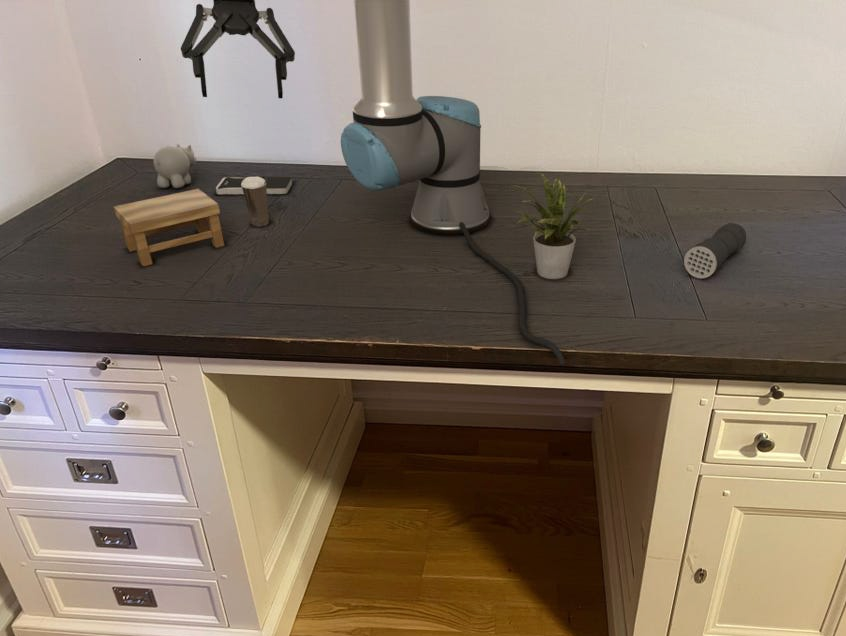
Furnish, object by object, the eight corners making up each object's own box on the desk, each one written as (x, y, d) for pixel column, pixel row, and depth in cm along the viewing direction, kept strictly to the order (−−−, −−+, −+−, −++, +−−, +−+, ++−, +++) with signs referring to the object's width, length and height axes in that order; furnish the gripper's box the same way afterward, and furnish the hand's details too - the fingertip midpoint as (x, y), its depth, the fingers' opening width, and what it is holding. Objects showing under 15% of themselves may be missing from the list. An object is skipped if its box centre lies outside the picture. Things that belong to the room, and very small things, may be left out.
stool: (226, 245, 131) (218, 204, 126) (142, 267, 123) (129, 223, 118) (207, 229, 137) (198, 188, 133) (125, 248, 129) (113, 206, 125)
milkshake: (270, 229, 137) (261, 178, 132) (244, 227, 138) (234, 176, 133) (280, 220, 141) (272, 170, 135) (255, 218, 142) (246, 168, 136)
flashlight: (717, 244, 131) (722, 216, 129) (745, 252, 129) (752, 223, 126) (681, 273, 121) (686, 243, 118) (712, 282, 118) (718, 252, 116)
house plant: (493, 259, 126) (494, 167, 117) (564, 247, 130) (570, 158, 121) (526, 294, 115) (529, 196, 106) (602, 280, 119) (612, 185, 110)
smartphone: (286, 188, 153) (214, 188, 152) (286, 194, 153) (215, 195, 153) (292, 176, 159) (223, 177, 158) (292, 182, 160) (224, 183, 159)
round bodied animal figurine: (212, 174, 164) (204, 137, 159) (181, 192, 154) (172, 152, 150) (184, 172, 166) (176, 134, 161) (152, 189, 156) (142, 150, 151)
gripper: (299, -1, 142) (309, 104, 141) (164, -9, 135) (173, 101, 134) (301, -23, 135) (312, 87, 134) (158, -33, 127) (168, 84, 127)
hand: (243, 95), depth 134 cm, fingers open, 13 cm apart
